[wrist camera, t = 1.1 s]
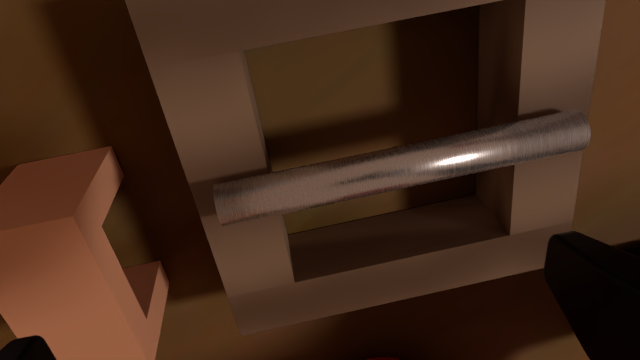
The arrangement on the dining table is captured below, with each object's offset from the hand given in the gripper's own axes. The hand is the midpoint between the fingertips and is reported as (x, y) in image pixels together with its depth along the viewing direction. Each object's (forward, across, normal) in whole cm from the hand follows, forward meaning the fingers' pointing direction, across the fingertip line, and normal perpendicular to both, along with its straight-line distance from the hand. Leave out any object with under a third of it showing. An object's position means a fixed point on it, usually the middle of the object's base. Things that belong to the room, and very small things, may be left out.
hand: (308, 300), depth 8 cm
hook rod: (+10, -4, +3) cm, 11 cm away
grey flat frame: (+13, -4, +3) cm, 14 cm away
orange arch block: (+13, +9, +6) cm, 17 cm away
